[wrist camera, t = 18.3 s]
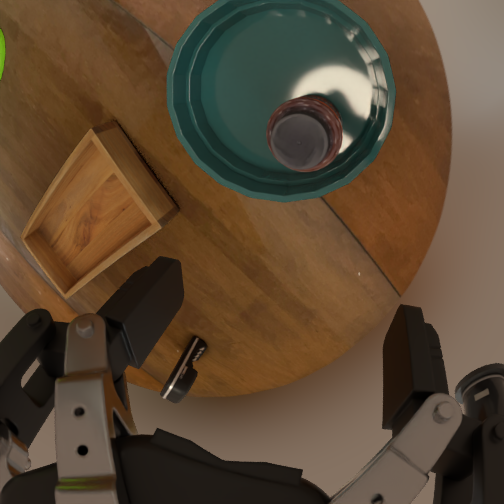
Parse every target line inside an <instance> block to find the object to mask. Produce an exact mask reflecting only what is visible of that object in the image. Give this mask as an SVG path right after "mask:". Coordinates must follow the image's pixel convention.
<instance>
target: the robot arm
mask: <svg viewBox="0 0 504 504" xmlns="http://www.w3.org/2000/svg"><path fill="white" fill-rule="evenodd" d="M183 298H184V288H183V279H182V269H181V263H180V261H179V260H176V259H172V258H167V257H163V256H159V257H158V258H157V259H156V260H155V261H154V262H153V263H152V264H151V265H150V266H149V267H147V266H145V267H143V268H141V269H140V270H138V271H136V272H134V273H133V274H132V275H131V276H130V277H129V278H128V279H127V280H126V283H124V284H123V285H122V286H121V287H120V289H118V290H117V291H116V292H115V293H114V294H113V295H112V296H111V298H110V299H109V300H108V301H107V302H106V303H105V304H104V305H103V306H102V307H101V308H100V309H99V311H98V312H97V313H96V314H93V313H87V314H83V315H80V316H78V317H76V318H75V319H73V320H72V321H71V322H70V323H66V322H56V321H53V319H52V317H51V314H50V313H49V311H47V310H45V309H35V310H32V311H30V312H28V313H27V314H25V316H23V317H22V319H21V320H20V321H19V322H18V323H17V324H16V325H15V326H14V327H13V329H12V330H11V331H10V332H9V333H8V334H7V335H6V336H5V338H4V339H3V340H2V341H1V342H0V504H411V502H412V501H413V500H414V499H415V498H416V496H417V495H418V494H419V493H420V491H421V490H422V489H423V487H424V486H425V485H426V483H427V482H428V480H429V476H428V473H429V471H431V472H434V473H436V478H435V490H434V500H433V504H504V376H503V375H502V374H501V373H490V374H486V375H483V376H481V377H479V378H477V379H475V380H474V381H472V382H471V383H469V384H468V385H467V386H466V387H465V389H464V390H463V392H462V401H463V405H464V411H465V415H464V414H462V410H461V407H460V405H459V403H458V402H457V401H456V400H455V399H454V398H453V397H451V396H450V395H449V391H448V384H447V379H446V372H445V367H444V361H443V359H442V357H443V356H442V351H441V349H440V348H441V346H440V342H439V337H438V334H437V332H436V331H435V329H434V328H433V326H432V325H431V324H428V323H425V322H424V318H423V313H422V309H421V308H420V307H414V306H409V305H403V304H401V305H400V306H399V308H398V309H397V312H396V314H395V316H394V319H393V321H392V323H391V325H390V327H389V330H388V332H387V334H386V337H385V340H384V344H383V422H382V429H388V430H392V438H391V439H390V440H389V441H388V443H387V444H386V445H385V446H384V447H383V448H382V449H381V450H380V451H379V452H378V453H377V454H376V455H375V456H374V457H373V458H372V459H371V461H370V462H368V463H367V465H366V466H364V468H363V469H361V470H360V471H359V472H358V473H357V474H356V475H355V476H354V477H353V478H352V479H351V480H350V481H348V482H347V483H346V484H345V485H344V486H343V487H342V488H340V489H339V490H338V491H337V492H336V493H335V494H333V495H332V496H331V497H329V496H328V495H327V494H326V493H325V492H324V491H323V490H322V489H320V488H319V487H317V486H316V485H315V484H313V483H311V482H310V481H308V480H306V479H304V478H301V476H302V472H303V470H302V469H296V468H291V467H286V466H281V465H276V464H272V463H267V462H239V461H225V460H222V459H220V458H218V457H216V456H215V455H213V454H211V453H210V452H208V451H206V450H204V449H203V448H201V447H200V446H198V445H197V444H195V443H194V442H192V441H190V440H188V439H185V438H182V437H179V436H177V435H174V434H172V433H169V432H166V431H164V430H161V429H159V428H157V429H156V431H155V433H154V435H142V434H141V435H138V432H137V429H136V426H135V423H134V421H133V417H132V413H131V408H130V402H129V395H128V389H127V382H126V375H125V372H124V370H125V369H126V367H127V366H128V365H130V366H133V367H135V368H137V369H139V368H140V367H141V365H142V364H143V362H144V361H145V359H146V358H147V356H148V355H149V353H150V352H151V350H152V349H153V347H154V346H155V344H156V343H157V341H158V340H159V338H160V337H161V335H162V334H163V332H164V331H165V329H166V328H167V326H168V325H169V324H170V322H171V321H172V319H173V318H174V316H175V315H176V313H177V312H178V310H179V309H180V307H181V305H182V302H183ZM36 358H37V360H38V362H39V363H40V365H39V367H38V368H37V369H36V371H35V372H34V373H33V375H32V376H31V377H30V379H29V380H28V382H27V383H26V384H25V386H24V387H23V388H22V387H21V379H22V376H23V375H24V374H25V372H26V371H27V370H28V368H29V367H30V366H31V364H32V363H33V362H34V361H35V359H36ZM54 406H55V444H56V459H57V462H56V463H53V464H50V465H47V466H43V467H40V468H37V469H34V470H31V471H27V472H25V470H28V469H29V468H30V467H31V461H30V459H29V458H28V448H29V447H30V445H31V443H32V441H33V440H34V438H35V436H36V435H37V433H38V432H39V430H40V428H41V427H42V425H43V423H44V422H45V420H46V419H47V417H48V416H49V414H50V412H51V411H52V409H53V408H54Z"/></svg>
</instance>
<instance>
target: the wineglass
mask: <svg viewBox="0 0 504 504" xmlns="http://www.w3.org/2000/svg"><path fill="white" fill-rule="evenodd" d="M4 61H5V39H4V35H3V32H2V30H1V29H0V80H1V77H2V73H3V68H4Z"/></svg>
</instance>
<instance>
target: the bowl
mask: <svg viewBox="0 0 504 504" xmlns="http://www.w3.org/2000/svg"><path fill="white" fill-rule="evenodd" d="M305 95H318V96H322V97H324V98H326V99H328V100H329V101H330V102H332V103H333V104H334V105H335V106H336V108H337V109H338V110H339V113H340V115H341V118H342V124H343V139H342V145H341V148H340V151H339V153H338V154H337V156H336V157H335V159H334V160H333V161H332V162H331V163H330V164H328V165H327V166H325V167H324V168H321V169H319V170H316V171H311V172H300V171H296V170H292V169H290V168H288V167H286V166H284V165H283V164H281V163H280V162H279V161H278V160H277V159H276V158H275V157H274V156H273V154H272V152H271V151H270V149H269V146H268V143H267V137H266V130H267V124H268V121H269V119H270V117H271V115H272V114H273V112H274V111H275V110H276V109H277V108H278V107H279V106H280V105H281V104H283V103H285V102H287V101H289V100H290V99H294V98H298V97H301V96H305ZM395 98H396V88H395V83H394V78H393V74H392V70H391V65H390V61H389V57H388V55H387V53H386V51H385V49H384V48H383V46H382V45H381V43H380V41H379V40H378V38H377V37H376V35H375V34H374V32H373V31H372V29H371V28H370V26H369V25H368V23H366V21H364V20H363V19H362V18H361V17H359V16H358V15H357V14H356V13H354V12H353V11H352V10H351V9H349V8H348V7H347V6H345V5H344V4H343V3H341V2H340V1H339V0H218V1H217V2H215V3H214V4H213V5H211V6H210V7H208V8H207V9H206V10H204V11H203V12H202V13H200V14H199V15H198V16H196V18H195V19H194V20H193V22H192V23H191V24H190V26H189V27H188V28H187V30H186V31H185V33H184V34H183V35H182V37H181V38H180V40H179V41H178V42H177V44H176V47H175V50H174V53H173V56H172V59H171V62H170V66H169V69H168V72H167V108H168V111H169V114H170V117H171V120H172V123H173V126H174V129H175V133H176V136H177V138H178V139H179V141H180V142H181V144H182V145H183V147H184V148H185V149H186V151H187V152H188V154H189V155H190V157H191V158H192V160H193V161H194V163H195V164H196V165H198V166H199V167H200V168H201V169H202V170H204V171H205V172H206V173H207V174H208V175H210V176H211V177H212V178H213V179H214V180H216V181H217V182H218V183H219V184H221V185H223V186H225V187H228V188H230V189H232V190H234V191H237V192H239V193H241V194H243V195H245V196H248V197H251V198H257V199H264V200H270V201H277V202H291V201H298V200H306V199H313V198H319V197H321V196H323V195H325V194H327V193H329V192H332V191H334V190H336V189H338V188H340V187H342V186H345V185H347V184H349V183H350V182H351V181H352V180H354V179H355V178H356V177H357V176H358V175H359V174H360V173H361V172H362V171H363V170H364V169H365V168H366V167H367V166H368V165H370V164H371V163H372V162H373V161H374V160H375V158H376V156H377V155H378V153H379V151H380V149H381V147H382V145H383V143H384V141H385V139H386V137H387V135H388V134H389V132H390V130H391V127H392V121H393V114H394V106H395Z"/></svg>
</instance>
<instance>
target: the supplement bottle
mask: <svg viewBox="0 0 504 504" xmlns="http://www.w3.org/2000/svg"><path fill="white" fill-rule="evenodd" d="M266 137H267V143H268V146H269V149H270V151H271V152H272V154H273V156H274V157H275V158H276V159H277V160H278V161H279V162H280V163H281V164H283V165H284V166H286V167H288V168H290V169H292V170H296V171H300V172H311V171H316V170H319V169H321V168H324V167H325V166H327V165H328V164H330V163H331V162H332V161H333V160H334V159H335V157H336V156H337V154H338V153H339V151H340V148H341V145H342V139H343V124H342V118H341V115H340V113H339V110H338V109H337V108H336V106H335V105H334V104H333V103H332V102H330V101H329V100H328V99H326V98H324V97H322V96H318V95H305V96H301V97H298V98H294V99H290V100H289V101H287V102H285V103H283V104H281V105H280V106H279V107H278V108H277V109H276V110H275V111H274V112H273V114H272V115H271V117H270V119H269V121H268V124H267V130H266Z"/></svg>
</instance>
